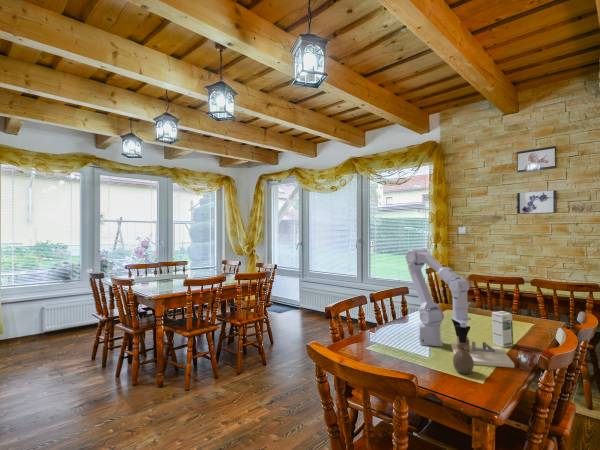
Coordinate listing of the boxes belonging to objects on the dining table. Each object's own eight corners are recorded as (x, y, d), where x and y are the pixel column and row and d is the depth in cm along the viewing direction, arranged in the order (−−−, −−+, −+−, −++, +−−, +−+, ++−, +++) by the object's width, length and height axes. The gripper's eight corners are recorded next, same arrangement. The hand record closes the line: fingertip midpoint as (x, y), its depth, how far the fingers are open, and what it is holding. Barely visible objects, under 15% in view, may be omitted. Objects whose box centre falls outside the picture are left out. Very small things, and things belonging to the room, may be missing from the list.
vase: (467, 367, 130) (466, 344, 130) (477, 375, 123) (476, 351, 123) (449, 368, 130) (449, 345, 130) (458, 376, 123) (458, 352, 123)
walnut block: (459, 351, 142) (458, 339, 142) (457, 347, 146) (457, 336, 146) (469, 351, 141) (469, 339, 141) (467, 348, 145) (467, 336, 145)
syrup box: (503, 347, 149) (502, 314, 149) (492, 343, 155) (491, 311, 155) (513, 346, 151) (512, 313, 151) (502, 341, 157) (501, 310, 157)
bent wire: (473, 357, 136) (472, 348, 136) (468, 349, 145) (468, 341, 145) (495, 359, 134) (495, 350, 134) (489, 350, 142) (489, 342, 142)
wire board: (458, 363, 134) (458, 359, 134) (451, 347, 151) (451, 343, 151) (514, 367, 129) (514, 363, 129) (500, 350, 146) (500, 346, 146)
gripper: (474, 312, 136) (475, 346, 136) (467, 303, 150) (467, 334, 150) (455, 311, 138) (455, 344, 138) (449, 303, 152) (450, 333, 152)
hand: (460, 339), depth 144 cm, fingers open, 7 cm apart
